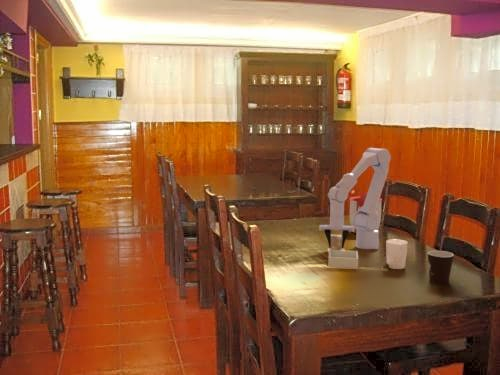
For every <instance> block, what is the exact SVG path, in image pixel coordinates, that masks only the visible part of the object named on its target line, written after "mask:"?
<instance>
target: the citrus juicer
mask: <svg viewBox="0 0 500 375" xmlns="http://www.w3.org/2000/svg"><path fill="white" fill-rule="evenodd" d="M367 193H368V192H364V193H363V194H362V195H361V196H351V197H349V222H350V223H349V224H350V226H354V227H355V228H354V232H353V233H354V234H355V233H356V234H357V228H356V225H355V224H354V222H353V218H354V216H355V214H356V213H357V212H358V209H359V208H360V207H362V206H363V205H364V202H365V199H366V196H367ZM382 202H383V199H382V198H381V197H380V198H379V201H378V204H377V207H376V211H377V213H378V214H379V216H378V225H377V227H376V228H375V230H378V231H379V229H380V228H379V227H380V225H381V224H380V223H381V221H382V220H381V219H382V218H381V217H382ZM367 215H369V214H367Z"/></svg>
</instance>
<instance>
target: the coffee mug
mask: <svg viewBox="0 0 500 375" xmlns="http://www.w3.org/2000/svg"><path fill="white" fill-rule="evenodd" d="M454 257H455V256H454V253H453V252H450V251H445V250H430V251H428V252H427V262H428V275H429V277H428V278H429V280H428V281H429V282H430V283H433V284H435V285H448V284H449V283H450V277H451V271H452V267H453V266H452V265H453V261H454Z"/></svg>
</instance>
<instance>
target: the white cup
mask: <svg viewBox="0 0 500 375" xmlns="http://www.w3.org/2000/svg"><path fill="white" fill-rule="evenodd" d="M408 242H409V241H407V240H404V239H398V238H397V239H396V238H391V239H387V240H386V242H385V247H386V248H385V251H386V256H385V258H386V264H387V266H388V268H389V269H392V270H402V269H405V268H406V260H407V253H408Z"/></svg>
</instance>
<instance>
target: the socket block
mask: <svg viewBox="0 0 500 375" xmlns="http://www.w3.org/2000/svg"><path fill="white" fill-rule="evenodd" d="M342 238H343V234H332V233H331V250H342V249H343V248H342Z"/></svg>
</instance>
